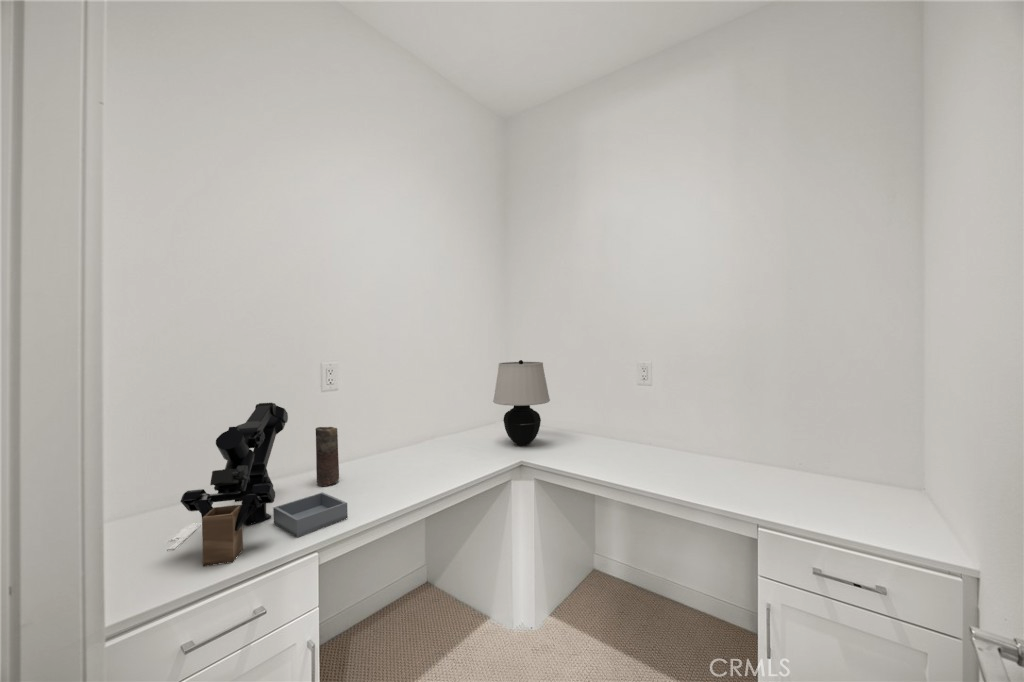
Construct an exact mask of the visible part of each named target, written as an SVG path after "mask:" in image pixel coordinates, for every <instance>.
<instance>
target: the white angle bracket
mask: <svg viewBox="0 0 1024 682" xmlns="http://www.w3.org/2000/svg"><path fill="white" fill-rule="evenodd" d="M195 523H196V524H195ZM195 523H190V524H191V525H189V526H186V525H185V526H186V527H185V528H184V529H182V528H181V529H182V530H181V529H180V530H181V531H180V530H179V531H180V532H179V531H178V532H179V533H178V534H176V533H175V534H176V535H175V534H174V535H175V536H174V535H173V536H174V537H173V536H172V537H173V538H171V537H170V538H171V539H170V538H169V539H170V540H172V541H174V542H175V543H174V544H172V545H171V546H170V547H168V548H167V549H166V551H167V552H169V551H168V550H172V551H176V550H177V549H176V548H177V547H178V546H179V545H180V544H181V543H182V542H183V543H184V542H186V541H187V540H188V538H187V537H189V536H190V535H191V534H192V533H193V532H194V531H195V530H196V529H197V528H198V527H199V526H200V525H201V524H202V522H195ZM197 523H199V524H197ZM193 524H194V525H193ZM200 527H201V526H200ZM200 527H199V528H200ZM199 528H198V529H199ZM198 529H197V530H198ZM197 530H196V531H197ZM196 531H195V532H196ZM195 532H194V533H195ZM194 533H193V534H194ZM193 534H192V535H193ZM192 535H191V536H192ZM191 536H190V537H191ZM190 537H189V538H190ZM169 539H168V540H169ZM175 539H178V540H175ZM170 540H169V541H170ZM172 541H170V542H172ZM183 543H182V544H183ZM182 544H181V545H182ZM181 545H180V546H181ZM180 546H179V547H180ZM179 547H178V548H179ZM175 549H176V550H175Z"/></svg>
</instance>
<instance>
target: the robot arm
mask: <svg viewBox="0 0 1024 682" xmlns="http://www.w3.org/2000/svg"><path fill="white" fill-rule="evenodd" d="M288 420H289V414H288V412H287V410H286V408H284V407H282V406H279V405H277V404H276V403H273V402H259V403H257V404H255V409H254V411H252V413H251V414H250V415H249V417H248V419H247V420H246V421H245V422H244V423H241V424H238V425H236V426H229V427H228V430H225V431H224V432H221V434H220V435H218V437H217V438H216V439H215V445H216V447H217V449H218V451H219V452H220V454H221V456H222V458H223V460H225V461H226V465H225V467H224V469H217V470H216V469H215V470H212V472H211V478H210V484H209V486H214V487H213V489H214V491H217V493H207V491H206V490H205V489H193V490H192V489H191V490H186V491H185V492H184V493H183V494H182V496H181V499H180V503H181V504H182V505H183V506H184V507H185V508H186V510H187V511H189V512H199V513H200V515H201V518H202V517H204V516H205V515H206V514H207V513H208V512H209V511H210V510H211V509H213V508H214V507H213V505H214V503H221V502H230V501H234V502H235V503H239V502H241V505H242V506H241V509H240V512H239V515H238V518H237V521H236V525H235V531H238V530H239V529H240V527H241V526H242V527H243V525H244V526H250V525H253V524H256V523H260V522H262V521H265V520H268V519H271V518H272V515H271V514H269V513H267V504H272V503H274V502H275V499H276V491H275V489H274V484H273V482H272V479H271V478H270V476H269V472H268V470H267V467H268V463H269V460H270V457H271V452H272V449H273V446H274V443H275V440H276V437H277V435H278V434H279V433H280V432H282V431H283V430H284V429H285V426H286V423H288ZM252 449H253V450H252Z"/></svg>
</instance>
